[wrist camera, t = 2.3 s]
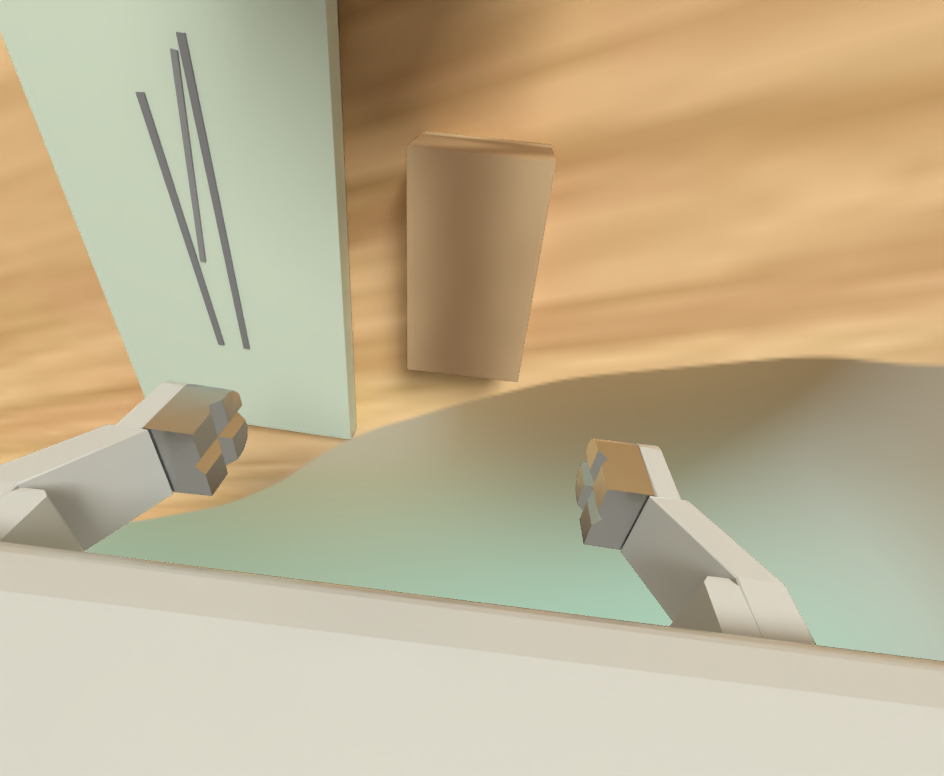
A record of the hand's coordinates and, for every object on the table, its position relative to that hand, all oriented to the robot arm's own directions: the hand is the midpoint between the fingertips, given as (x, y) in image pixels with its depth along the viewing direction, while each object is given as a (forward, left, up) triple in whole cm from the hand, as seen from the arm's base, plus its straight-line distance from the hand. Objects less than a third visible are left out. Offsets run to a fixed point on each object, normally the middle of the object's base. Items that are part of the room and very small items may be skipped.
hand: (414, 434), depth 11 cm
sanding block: (-1, 0, -13) cm, 13 cm away
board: (+11, 0, -13) cm, 17 cm away
